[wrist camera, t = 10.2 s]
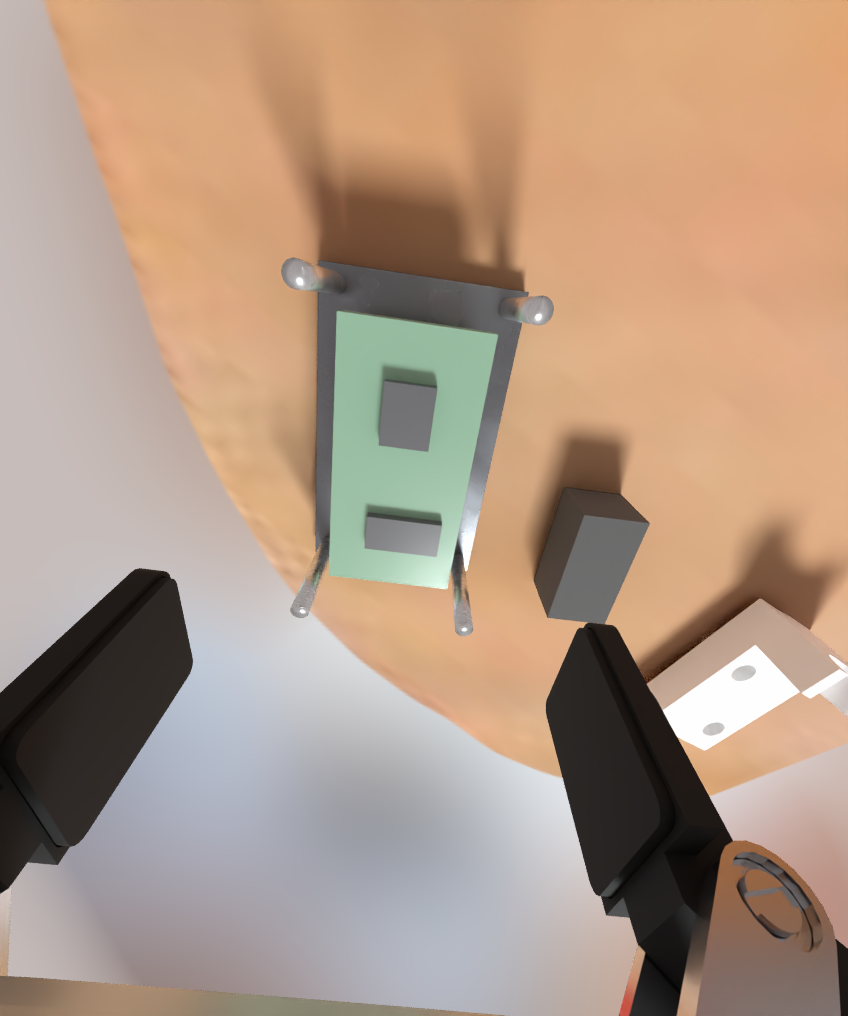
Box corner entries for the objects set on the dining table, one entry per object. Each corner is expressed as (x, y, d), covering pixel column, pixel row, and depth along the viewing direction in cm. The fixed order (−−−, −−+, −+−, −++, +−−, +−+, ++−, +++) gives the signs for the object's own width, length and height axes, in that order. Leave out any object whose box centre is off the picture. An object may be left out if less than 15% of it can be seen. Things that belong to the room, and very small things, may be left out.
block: (564, 487, 27) (584, 515, 24) (621, 494, 27) (649, 523, 24) (533, 581, 31) (547, 617, 27) (584, 587, 31) (604, 624, 27)
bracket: (751, 590, 31) (839, 669, 24) (807, 627, 33) (904, 711, 26) (628, 685, 36) (673, 772, 30) (682, 713, 38) (736, 801, 31)
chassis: (323, 262, 21) (269, 241, 14) (524, 292, 22) (570, 287, 15) (319, 544, 29) (283, 621, 22) (465, 562, 30) (476, 642, 23)
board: (345, 310, 19) (333, 311, 16) (491, 331, 19) (500, 335, 17) (335, 556, 25) (326, 581, 23) (445, 569, 25) (447, 595, 23)
